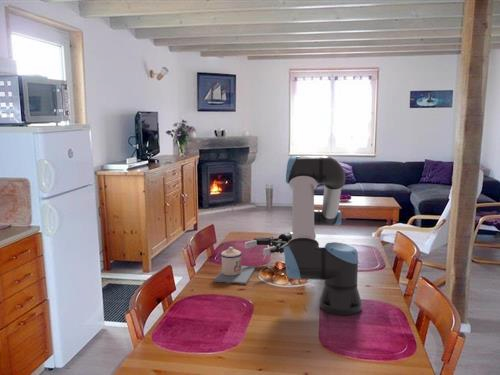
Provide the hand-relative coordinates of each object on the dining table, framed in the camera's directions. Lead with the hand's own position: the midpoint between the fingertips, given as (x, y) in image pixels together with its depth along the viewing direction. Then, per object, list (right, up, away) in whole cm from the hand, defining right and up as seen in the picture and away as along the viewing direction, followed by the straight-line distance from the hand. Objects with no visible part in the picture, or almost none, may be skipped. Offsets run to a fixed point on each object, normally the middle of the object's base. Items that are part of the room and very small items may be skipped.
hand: (254, 248), depth 199 cm
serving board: (-8, -11, -4) cm, 14 cm away
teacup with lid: (-10, -10, -3) cm, 14 cm away
